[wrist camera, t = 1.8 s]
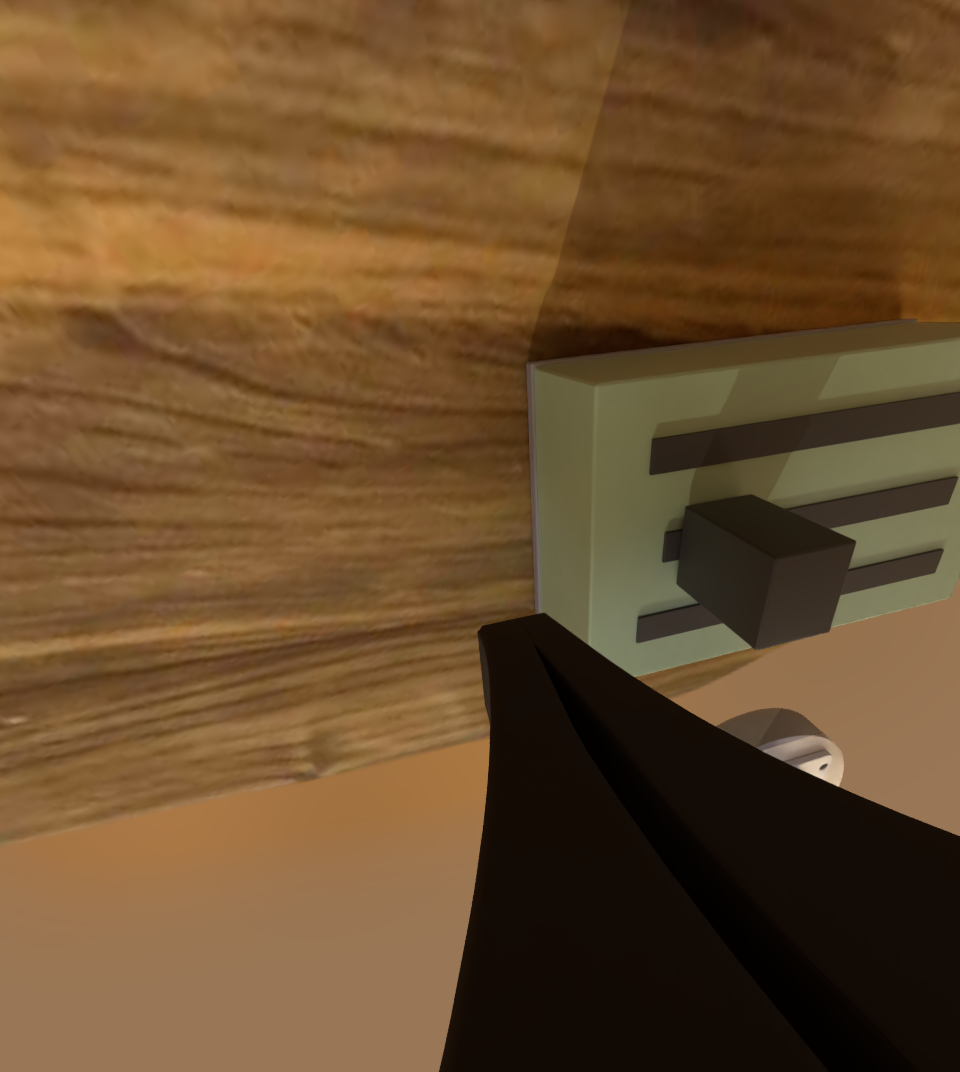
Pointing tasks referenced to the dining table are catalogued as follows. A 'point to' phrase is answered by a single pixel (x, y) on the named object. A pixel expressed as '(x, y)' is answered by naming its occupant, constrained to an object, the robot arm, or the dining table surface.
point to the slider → (763, 569)
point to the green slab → (741, 473)
